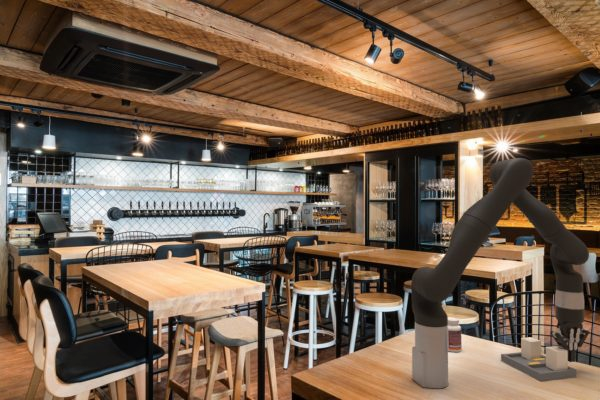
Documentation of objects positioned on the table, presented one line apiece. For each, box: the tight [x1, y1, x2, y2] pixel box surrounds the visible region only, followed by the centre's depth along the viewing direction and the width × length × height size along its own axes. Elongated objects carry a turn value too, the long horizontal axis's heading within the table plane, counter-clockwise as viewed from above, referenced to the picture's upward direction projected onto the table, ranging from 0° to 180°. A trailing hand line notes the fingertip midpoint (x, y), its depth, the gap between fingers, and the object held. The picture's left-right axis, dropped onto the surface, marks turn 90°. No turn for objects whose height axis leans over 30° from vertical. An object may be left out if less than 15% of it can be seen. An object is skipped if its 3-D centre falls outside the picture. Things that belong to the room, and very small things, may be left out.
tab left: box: [520, 336, 542, 359], centre depth 130 cm, size 4×4×6 cm
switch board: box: [500, 351, 577, 382], centre depth 125 cm, size 13×16×2 cm
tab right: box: [545, 345, 569, 370], centre depth 121 cm, size 4×4×6 cm
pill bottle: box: [448, 316, 463, 353], centre depth 142 cm, size 6×6×11 cm
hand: (570, 360), depth 123 cm, fingers closed
